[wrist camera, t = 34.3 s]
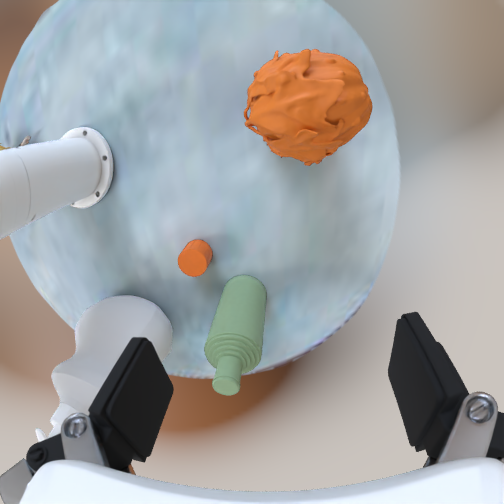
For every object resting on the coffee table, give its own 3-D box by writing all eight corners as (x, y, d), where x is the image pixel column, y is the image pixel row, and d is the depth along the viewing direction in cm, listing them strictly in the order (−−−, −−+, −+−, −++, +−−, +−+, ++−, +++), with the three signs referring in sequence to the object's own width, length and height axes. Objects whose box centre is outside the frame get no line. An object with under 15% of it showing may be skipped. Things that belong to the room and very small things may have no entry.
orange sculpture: (352, 144, 32) (418, 154, 16) (272, 170, 34) (267, 202, 18) (321, 64, 28) (358, 6, 12) (239, 90, 31) (203, 49, 14)
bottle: (228, 313, 43) (204, 405, 27) (219, 277, 41) (185, 366, 25) (269, 309, 42) (262, 405, 26) (262, 272, 40) (251, 364, 24)
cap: (217, 260, 40) (212, 271, 37) (193, 268, 41) (186, 280, 38) (204, 235, 39) (198, 244, 35) (180, 245, 40) (172, 255, 36)
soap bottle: (178, 288, 42) (87, 456, 16) (186, 344, 47) (129, 495, 20) (92, 279, 44) (-15, 395, 17) (107, 331, 48) (30, 447, 21)
